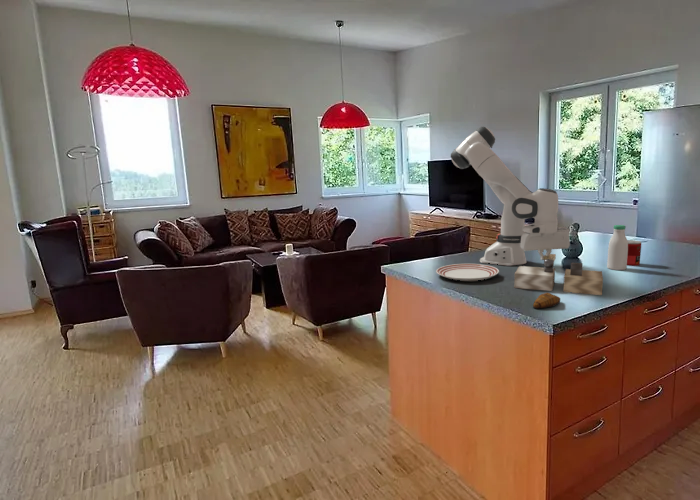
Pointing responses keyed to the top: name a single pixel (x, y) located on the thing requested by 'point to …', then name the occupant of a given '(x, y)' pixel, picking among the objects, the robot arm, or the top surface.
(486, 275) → the dinner plate
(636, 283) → the top surface
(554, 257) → the latch bar
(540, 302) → the croissant
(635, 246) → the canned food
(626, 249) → the milk bottle
